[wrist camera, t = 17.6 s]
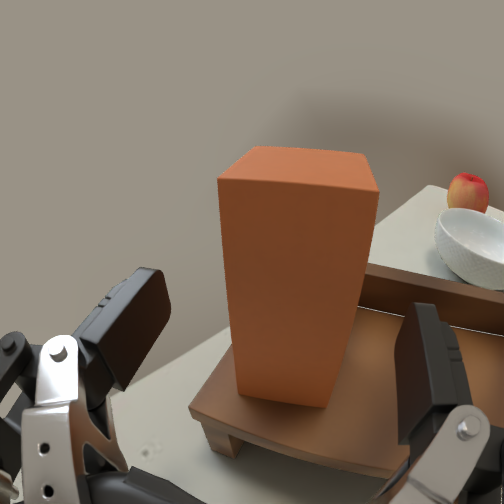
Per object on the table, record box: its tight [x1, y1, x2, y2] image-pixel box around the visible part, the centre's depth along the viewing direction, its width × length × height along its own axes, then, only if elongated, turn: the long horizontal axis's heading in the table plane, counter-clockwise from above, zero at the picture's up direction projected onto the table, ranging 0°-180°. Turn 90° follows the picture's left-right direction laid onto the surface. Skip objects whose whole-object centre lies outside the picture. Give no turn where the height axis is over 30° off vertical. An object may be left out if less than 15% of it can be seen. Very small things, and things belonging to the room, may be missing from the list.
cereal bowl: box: [435, 208, 504, 290], centre depth 35 cm, size 17×17×7 cm
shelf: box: [188, 263, 504, 504], centre depth 17 cm, size 22×14×11 cm, turn 66°
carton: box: [217, 146, 379, 408], centre depth 14 cm, size 5×5×12 cm
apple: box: [447, 173, 489, 214], centre depth 50 cm, size 10×10×10 cm
